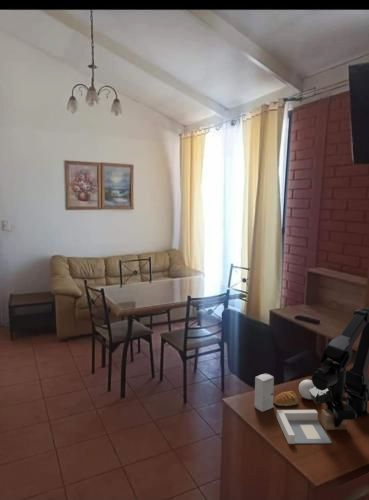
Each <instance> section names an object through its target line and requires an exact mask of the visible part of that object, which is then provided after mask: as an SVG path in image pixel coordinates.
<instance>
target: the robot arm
mask: <svg viewBox="0 0 369 500" xmlns="http://www.w3.org/2000/svg"><path fill="white" fill-rule="evenodd" d="M359 337H360V339H359V342H358V346H357V349H356V353H355V357H354V361H353V364H352V367H351V368H350V369H349V370H348V369H347V367H349V366H350V364H349V363H350V361H351V359H352V356H353V353H354V352H353V346H354V344H355V343H356V341H357V340H358V338H359ZM318 363H319V364H318V365H322V367H319V368H317V371H316V372H314V373H313V374H312V376H311V380H312V383H313V385H314V386H315V387H314V388H311V389H309V392H310V395H311V398H312V399H311V400H312V401H313V402H314V404H316V405H322V404H325V406H326V409H330V411H331V412H332V413H333V415H334V425H335V427H339V425H340V424H341V423H342V421H343V420H347V421H348V420H351V421H352V420H357V416H369V412H368V404H369V403H368V402H369V374H368V369H369V307H368V306H366V307H364V308H358V309H355V310H354V312H353V316H352V318H350V320H349V322H348V324H347V325H346V326H345V328H344V329H343V331H342V332H341V334H340V335H339V336H338V337H335V338H332V339H331V341H330V342H329V343H328V344H327V345H326V346H325V347H324V350H323V353H322V355H321V357H320V360H319V362H318ZM345 394H346V395H345ZM344 402H345V403H344Z"/></svg>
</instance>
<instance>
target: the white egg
mask: <svg viewBox="0 0 369 500" xmlns="http://www.w3.org/2000/svg"><path fill="white" fill-rule="evenodd" d="M314 387H315V386H314V385H313V383H312V379H304V380H302V381H301V382H300V383H299V385H298V392H299V394H300V395H301V396H302V398H304V399H307V400H313V399H312V398H311V395H310V392H309V389H311V388H314Z"/></svg>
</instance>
